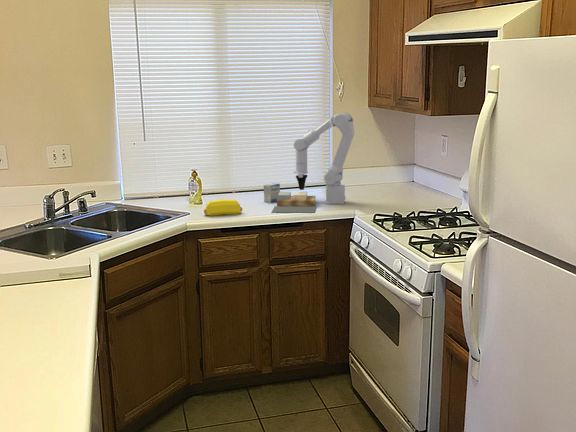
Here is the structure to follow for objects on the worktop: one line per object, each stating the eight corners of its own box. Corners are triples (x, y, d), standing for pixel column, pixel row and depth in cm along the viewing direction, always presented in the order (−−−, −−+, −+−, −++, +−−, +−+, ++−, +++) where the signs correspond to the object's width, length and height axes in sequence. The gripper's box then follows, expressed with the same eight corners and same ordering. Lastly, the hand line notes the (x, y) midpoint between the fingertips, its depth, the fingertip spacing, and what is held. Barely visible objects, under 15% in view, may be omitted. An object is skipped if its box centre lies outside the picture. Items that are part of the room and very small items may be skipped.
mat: (316, 206, 310) (316, 206, 310) (314, 212, 297) (314, 212, 297) (274, 206, 312) (274, 206, 312) (271, 212, 299) (271, 212, 299)
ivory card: (307, 196, 321) (307, 191, 321) (306, 199, 313) (306, 195, 312) (295, 196, 322) (295, 191, 321) (293, 199, 313) (293, 195, 313)
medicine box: (270, 202, 322) (270, 185, 320) (263, 201, 325) (263, 184, 323) (280, 200, 328) (280, 183, 326) (273, 199, 331) (273, 182, 329)
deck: (315, 201, 323) (315, 195, 322) (314, 206, 311) (314, 200, 310) (279, 201, 324) (279, 195, 324) (276, 206, 313) (276, 200, 312)
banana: (203, 213, 300) (204, 217, 293) (202, 199, 299) (203, 202, 291) (241, 211, 304) (243, 214, 296) (240, 197, 302) (243, 200, 295)
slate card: (290, 196, 322) (290, 191, 322) (289, 199, 313) (289, 195, 313) (279, 196, 323) (279, 191, 322) (277, 199, 314) (277, 195, 313)
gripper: (294, 160, 330) (295, 187, 333) (292, 164, 316) (292, 192, 319) (308, 160, 330) (308, 187, 333) (306, 164, 316) (306, 192, 319)
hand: (301, 189), depth 326 cm, fingers closed
